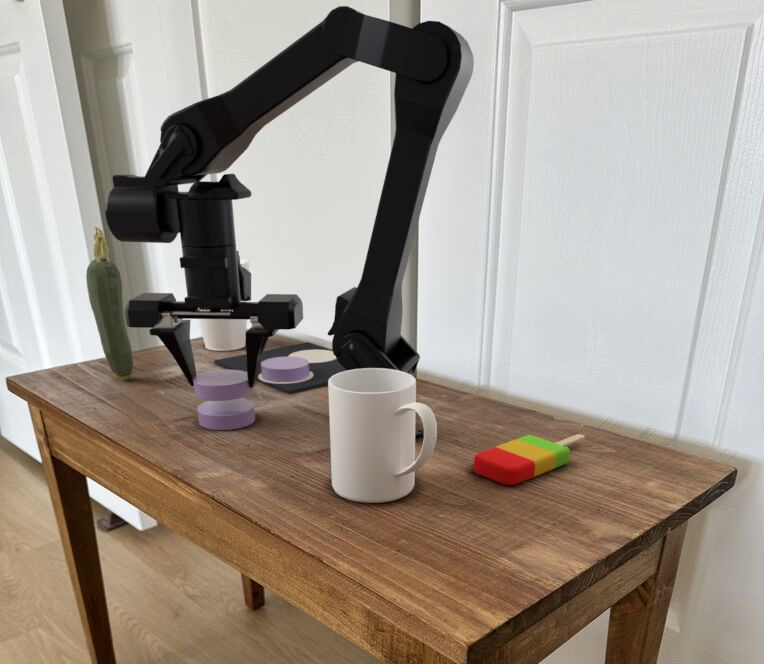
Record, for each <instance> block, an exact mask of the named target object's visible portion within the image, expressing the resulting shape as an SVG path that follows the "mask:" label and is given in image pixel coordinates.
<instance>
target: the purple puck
mask: <svg viewBox="0 0 764 664" xmlns="http://www.w3.org/2000/svg"><path fill="white" fill-rule="evenodd" d="M193 385H194V386H193V391H194V392H193V393H194V396H195V398H198V399H199V400H204V401H227V400H234V399H239V398H241V399H243V398H245V397H247V396H249V395H251V394H252V392H253V388H250V387H249V382H248V377H247V372H245V371H240V370H230V369H214V370H209V371H208V370H207V371H204V372H202V373H199V374H196V376H195V377H194V378H193Z"/></svg>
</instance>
